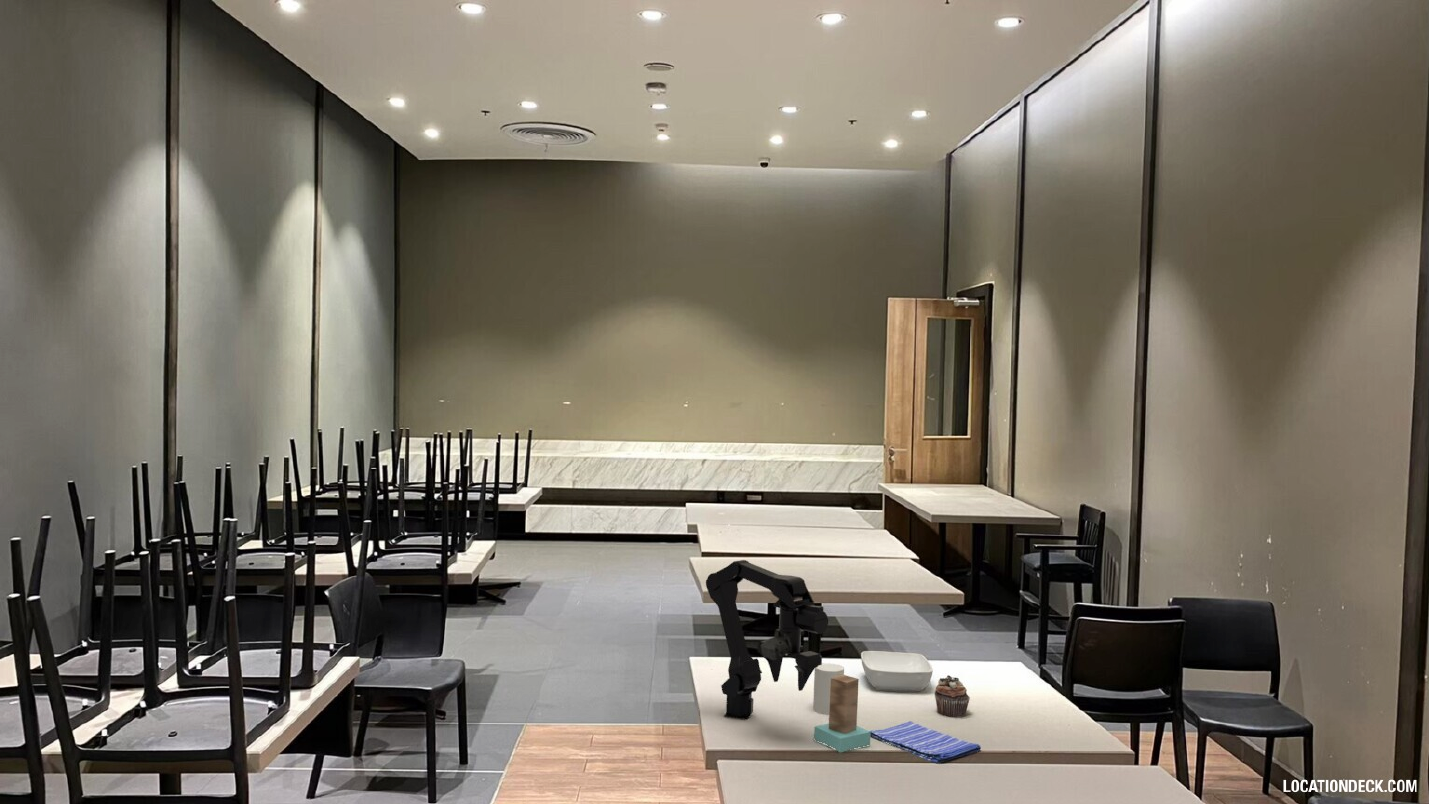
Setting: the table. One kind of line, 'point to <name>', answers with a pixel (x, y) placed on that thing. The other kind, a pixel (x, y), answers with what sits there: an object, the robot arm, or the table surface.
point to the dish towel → (925, 742)
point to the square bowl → (896, 670)
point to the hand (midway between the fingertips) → (787, 685)
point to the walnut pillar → (843, 704)
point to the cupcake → (951, 697)
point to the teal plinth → (842, 738)
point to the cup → (824, 686)
